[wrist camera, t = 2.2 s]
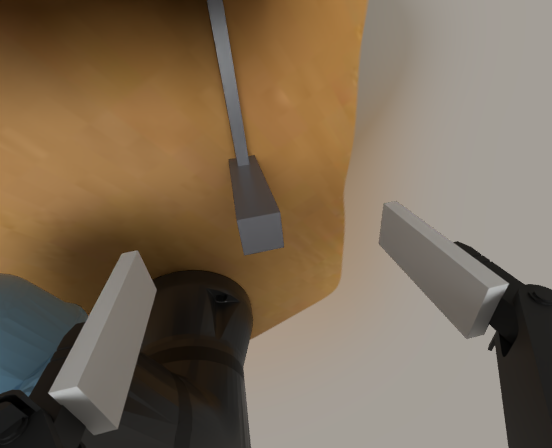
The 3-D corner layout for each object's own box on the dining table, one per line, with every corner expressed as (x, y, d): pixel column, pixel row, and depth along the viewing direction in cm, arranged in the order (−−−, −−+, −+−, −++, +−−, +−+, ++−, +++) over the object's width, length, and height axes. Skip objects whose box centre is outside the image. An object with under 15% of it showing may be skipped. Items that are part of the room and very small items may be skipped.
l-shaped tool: (258, 179, 26) (284, 247, 16) (233, 183, 26) (244, 255, 16) (218, -85, 17) (220, -318, 7) (179, -82, 17) (120, -322, 7)
